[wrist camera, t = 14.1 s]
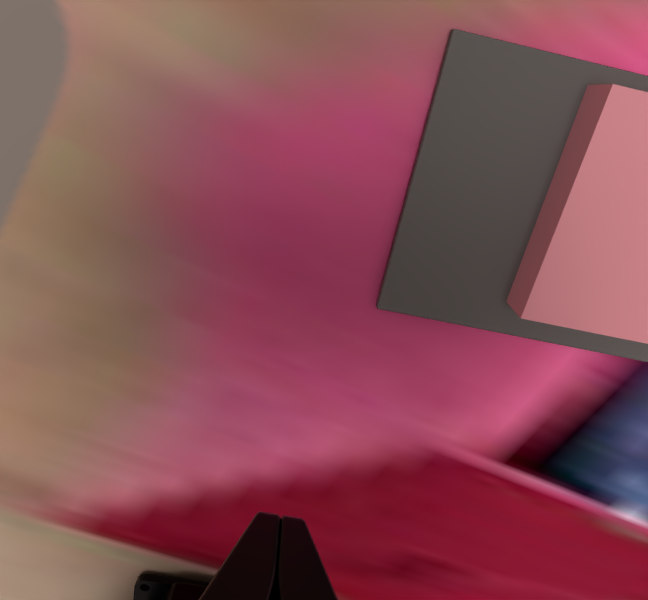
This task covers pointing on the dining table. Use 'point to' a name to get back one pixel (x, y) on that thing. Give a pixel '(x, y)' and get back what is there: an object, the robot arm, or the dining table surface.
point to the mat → (489, 186)
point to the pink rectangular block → (593, 224)
